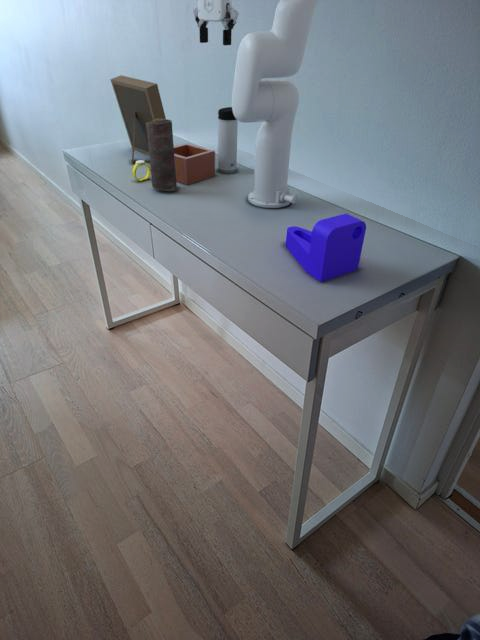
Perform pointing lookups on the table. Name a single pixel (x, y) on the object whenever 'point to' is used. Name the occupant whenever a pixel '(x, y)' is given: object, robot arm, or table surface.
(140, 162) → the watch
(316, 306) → the table surface
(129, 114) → the photo frame
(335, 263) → the bracket
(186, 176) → the holder
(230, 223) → the table surface
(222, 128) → the travel mug
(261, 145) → the robot arm
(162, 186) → the dark brown tall block
